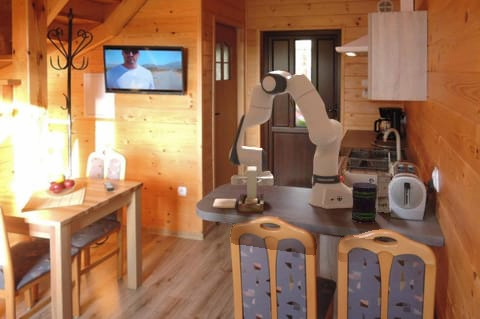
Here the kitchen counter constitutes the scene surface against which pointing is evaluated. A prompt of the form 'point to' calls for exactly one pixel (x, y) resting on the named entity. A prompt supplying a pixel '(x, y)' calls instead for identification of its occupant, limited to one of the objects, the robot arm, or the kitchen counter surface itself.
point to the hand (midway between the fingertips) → (251, 183)
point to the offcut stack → (251, 201)
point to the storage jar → (364, 202)
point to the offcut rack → (251, 205)
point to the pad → (224, 203)
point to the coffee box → (383, 192)
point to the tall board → (251, 182)
